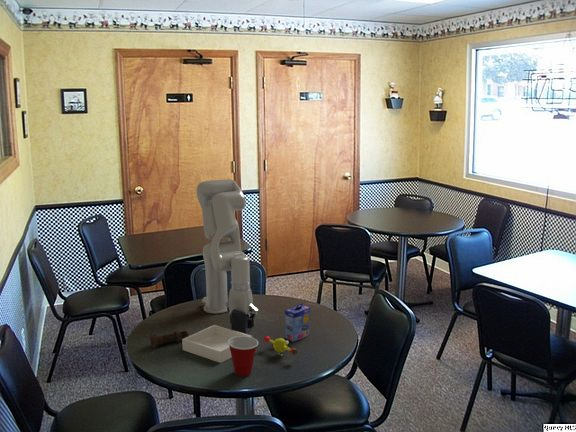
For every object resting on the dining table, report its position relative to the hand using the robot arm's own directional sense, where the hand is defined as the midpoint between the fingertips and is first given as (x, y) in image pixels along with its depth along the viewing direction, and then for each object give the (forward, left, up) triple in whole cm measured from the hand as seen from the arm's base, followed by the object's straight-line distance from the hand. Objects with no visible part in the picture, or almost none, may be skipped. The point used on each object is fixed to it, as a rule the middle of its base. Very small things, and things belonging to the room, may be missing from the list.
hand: (241, 325), depth 243 cm
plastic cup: (+25, -28, -3) cm, 38 cm away
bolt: (-16, -25, -3) cm, 30 cm away
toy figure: (+27, -9, -3) cm, 29 cm away
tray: (+3, -18, -3) cm, 18 cm away
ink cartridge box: (+22, +9, -3) cm, 24 cm away
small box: (0, 0, -3) cm, 3 cm away
